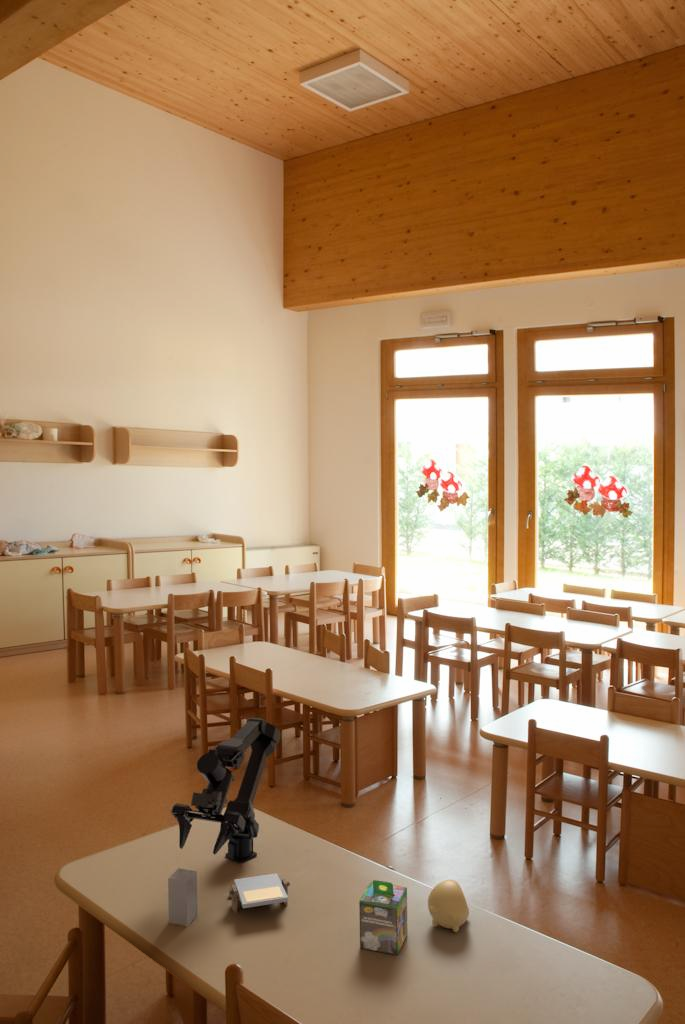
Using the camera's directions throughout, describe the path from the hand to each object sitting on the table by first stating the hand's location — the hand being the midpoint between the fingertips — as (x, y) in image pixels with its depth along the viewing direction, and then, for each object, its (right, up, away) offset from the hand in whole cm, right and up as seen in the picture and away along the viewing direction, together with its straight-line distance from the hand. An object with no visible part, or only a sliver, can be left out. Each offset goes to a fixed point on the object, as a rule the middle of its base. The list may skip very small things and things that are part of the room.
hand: (197, 851), depth 207 cm
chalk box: (+45, -15, -15) cm, 50 cm away
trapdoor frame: (+15, -13, +2) cm, 20 cm away
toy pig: (+61, -15, -8) cm, 64 cm away
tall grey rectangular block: (-2, -14, -6) cm, 15 cm away
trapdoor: (+16, -13, -1) cm, 20 cm away
